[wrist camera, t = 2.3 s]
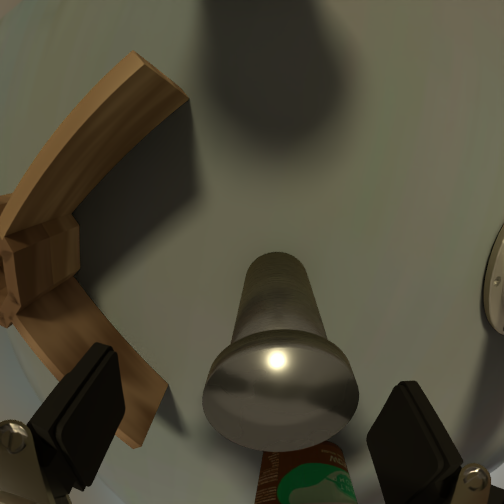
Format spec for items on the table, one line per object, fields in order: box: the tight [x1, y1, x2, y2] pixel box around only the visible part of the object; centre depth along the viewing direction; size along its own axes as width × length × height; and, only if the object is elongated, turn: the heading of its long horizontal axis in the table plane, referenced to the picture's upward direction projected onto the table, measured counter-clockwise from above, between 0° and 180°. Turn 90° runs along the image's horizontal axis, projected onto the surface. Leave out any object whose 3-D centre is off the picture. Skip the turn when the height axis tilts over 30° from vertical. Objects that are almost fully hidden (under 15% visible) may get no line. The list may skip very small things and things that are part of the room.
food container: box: [254, 441, 358, 504], centre depth 19 cm, size 12×6×10 cm, turn 49°
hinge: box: [0, 51, 189, 449], centre depth 16 cm, size 20×20×7 cm
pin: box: [202, 252, 359, 452], centre depth 14 cm, size 5×5×11 cm
